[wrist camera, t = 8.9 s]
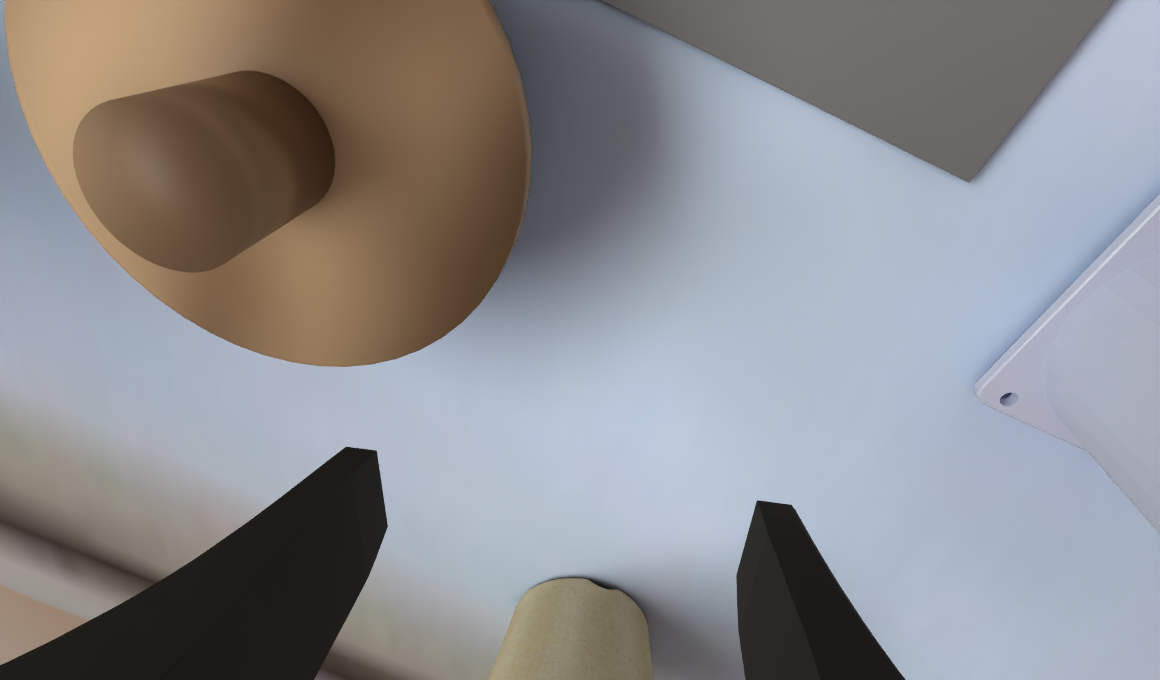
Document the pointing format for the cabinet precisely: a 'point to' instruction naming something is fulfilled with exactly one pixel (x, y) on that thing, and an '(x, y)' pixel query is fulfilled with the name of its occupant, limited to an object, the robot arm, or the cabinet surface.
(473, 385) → the cabinet surface
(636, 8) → the mat
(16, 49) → the lid
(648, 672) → the flower pot
